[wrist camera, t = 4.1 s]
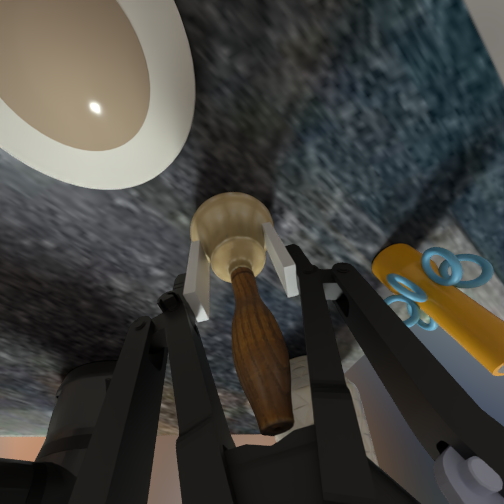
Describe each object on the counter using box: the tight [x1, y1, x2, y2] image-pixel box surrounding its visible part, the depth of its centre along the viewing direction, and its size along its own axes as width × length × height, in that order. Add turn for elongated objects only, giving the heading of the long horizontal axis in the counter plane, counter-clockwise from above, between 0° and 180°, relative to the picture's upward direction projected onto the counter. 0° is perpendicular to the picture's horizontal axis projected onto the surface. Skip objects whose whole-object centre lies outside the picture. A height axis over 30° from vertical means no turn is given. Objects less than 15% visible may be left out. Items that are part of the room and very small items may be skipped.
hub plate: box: [0, 0, 196, 190], centre depth 14 cm, size 16×16×2 cm
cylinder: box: [372, 243, 504, 376], centre depth 23 cm, size 12×10×15 cm
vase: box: [274, 355, 379, 467], centre depth 34 cm, size 17×17×23 cm
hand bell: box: [190, 192, 295, 436], centre depth 14 cm, size 8×8×16 cm
